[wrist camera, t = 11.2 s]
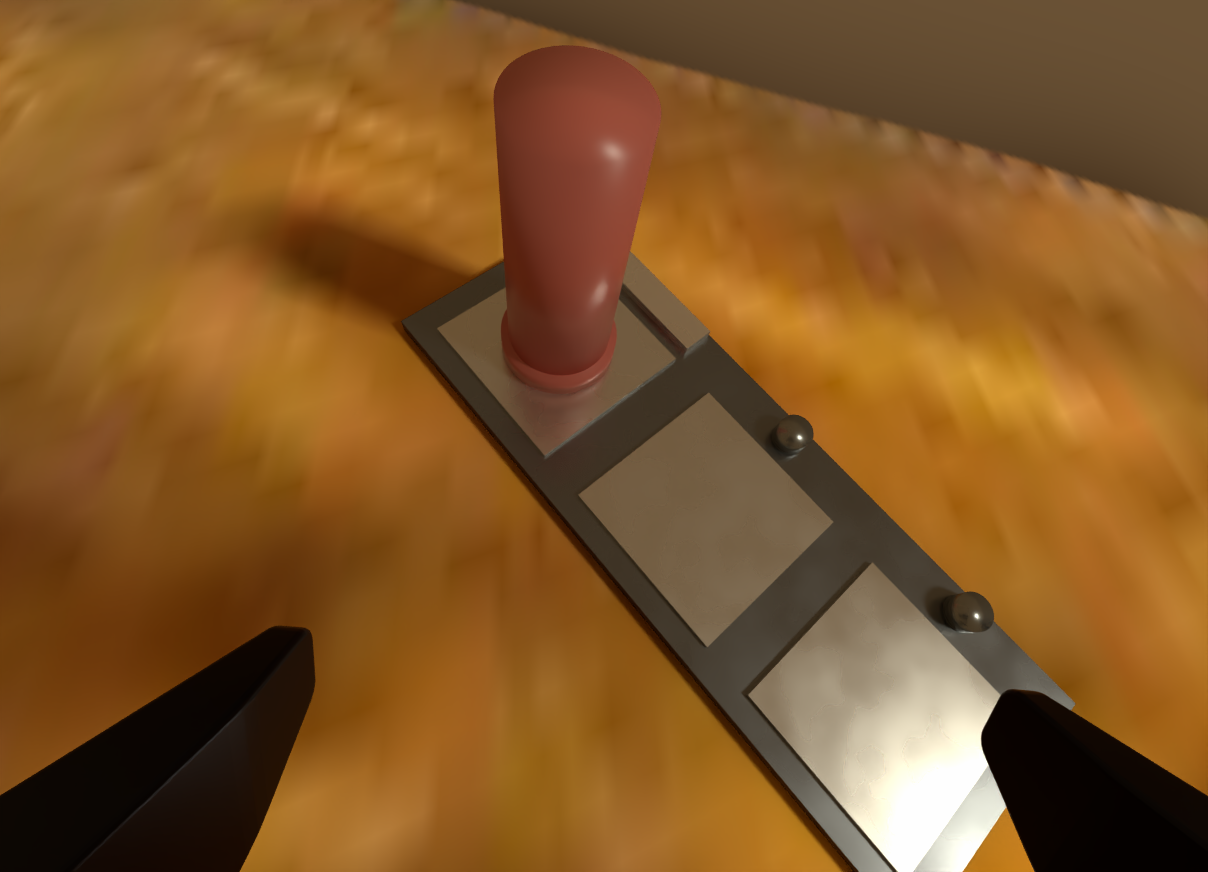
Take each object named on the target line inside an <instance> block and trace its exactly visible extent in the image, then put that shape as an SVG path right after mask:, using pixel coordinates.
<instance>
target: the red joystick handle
mask: <svg viewBox="0 0 1208 872" xmlns="http://www.w3.org/2000/svg"><path fill="white" fill-rule="evenodd" d="M494 112H495V128H496V144H497V159H498V175H499V191H500V206H501V222H502V238H503V254H504V269H505V285H506V301H507V309H506V311H505V313H504V316H503V318H502V323H501V341H502V351H503V355H504V358H505V361H506V363H507V365H508V367H509V368H510V370H511V371H512V372H513V374H514V375H515V376H516V377H517V378H518V379H519V380H521V381H522V382H523V383H525V384H526V385H528V386H530V387H532V388H534V389H536V390H539V391H542V392H546V393H552V394H568V393H573V392H577V391H580V390H583V389H585V388H587V387H589V386H591V385H593V384H594V383H596V382H597V381H598V380H599V379H600V378H601V377H602V376H603V375H604V374H605V372H606V371H607V369H608V368H609V365H610V363H611V360H612V357H613V353H614V349H615V345H616V340H617V329H616V324H615V321H614V317H615V313H616V308H617V304H618V300H619V296H620V291H621V287H622V283H623V279H624V274H625V270H626V266H627V262H628V257H629V253H630V249H631V245H632V240H633V236H634V232H635V228H636V223H637V219H638V215H639V211H640V206H641V202H642V198H643V194H644V189H645V185H646V181H647V177H648V172H649V168H650V164H651V160H652V155H653V151H654V147H655V143H656V138H657V134H658V130H659V126H660V121H661V106H660V102H659V98H658V96H657V94H656V91H655V90H654V88H653V86H652V85H651V83H650V82H649V81H648V80H647V78H646V77H645V76H644V75H643V74H642V73H641V72H640V71H638V70H637V69H636V68H635V67H633V66H632V65H631V64H629V63H627V62H626V61H624V60H622V59H620V58H618V57H616V56H614V55H612V54H609V53H606V52H604V51H600V50H597V49H593V48H587V47H581V46H552V47H546V48H541V49H538V50H534V51H532V52H529V53H527V54H524V55H523V56H521V57H519V58H517V59H516V60H514V61H513V62H512V63H510V64H509V65H508V66H507V67H506V68H505V69H504V71H503V72H502V73H501V75H500V76H499V78H498V81H497V83H496V86H495V90H494Z"/></svg>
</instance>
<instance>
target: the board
mask: <svg viewBox="0 0 1208 872" xmlns="http://www.w3.org/2000/svg"><path fill="white" fill-rule="evenodd" d="M506 309H507V301H506V285H505V269H504V262H502V263H501V264H499V265H497V266H495V267H494V268H492V269H490V270H489V271H487V272H485V273H483V274H482V275H480V276H478V277H477V278H475V279H473V280H471V281H470V282H468V283H466V284H464V285H463V286H461V287H459V288H458V289H456V290H454V291H452V292H451V293H449V294H447V295H446V296H444V297H442V298H440V299H439V300H437V301H435V302H433V303H432V304H430V305H428V306H427V307H425V308H423V309H421V310H420V311H418V312H416V313H415V314H413V315H411V316H409V317H408V318H406V319H404V320H402V321H401V322H402V325H403V327H404V330H405V331H406V332H407V333H408V334H409V336H410V337H411V338H412V339H413V341H414V342H415V343H416V344H417V345H418V347H419V348H420V349H421V350H422V351H423V353H424V354H425V355H426V356H427V357H428V359H429V360H430V361H431V362H432V363H433V365H434V366H435V367H436V368H437V369H438V371H439V372H440V373H441V374H442V375H443V377H444V378H445V379H446V380H447V381H448V383H449V384H450V385H451V386H452V388H453V389H454V390H455V391H456V392H457V394H458V395H459V396H460V397H461V398H462V400H463V401H464V402H465V403H466V404H467V406H468V407H469V408H470V409H471V410H472V412H473V413H474V414H475V415H476V416H477V418H478V419H479V420H480V421H481V422H482V424H483V425H484V426H485V427H486V429H487V430H488V431H489V432H490V433H491V435H492V436H493V437H494V438H495V439H496V441H497V442H498V443H499V444H500V445H501V447H502V448H503V449H504V450H505V451H506V453H507V454H508V455H509V456H510V457H511V459H512V460H513V461H514V462H515V463H516V465H517V466H518V467H519V468H520V469H521V471H522V472H523V473H524V474H525V476H526V477H527V478H528V479H529V480H530V482H531V483H532V484H533V485H534V486H535V488H536V489H537V490H538V491H539V492H540V494H541V495H542V496H543V497H544V498H545V500H546V501H547V502H548V503H549V504H550V506H551V507H552V508H553V509H554V510H555V512H556V513H557V514H558V515H559V516H560V518H561V519H562V520H563V521H564V523H565V524H566V525H567V526H568V527H569V529H570V530H571V531H572V532H573V533H574V535H575V536H576V537H577V538H578V539H579V541H580V542H581V543H582V544H583V545H584V547H585V548H586V549H587V550H588V551H589V553H590V554H591V555H592V556H593V557H594V559H595V560H596V561H597V562H598V563H599V565H600V566H601V567H602V568H603V570H604V571H605V572H606V573H607V574H608V576H609V577H610V578H611V579H612V580H613V582H614V583H615V584H616V585H617V586H618V588H619V589H620V590H621V591H622V592H623V594H624V595H625V596H626V597H627V598H628V600H629V601H630V602H631V603H632V604H633V606H634V607H635V608H636V609H637V610H638V612H639V613H640V614H641V615H642V617H643V618H644V619H645V620H646V621H647V623H648V624H649V625H650V626H651V627H652V629H653V630H654V631H655V632H656V633H657V635H658V636H659V637H660V638H661V639H662V641H663V642H664V643H665V644H666V645H667V647H668V648H669V649H670V650H671V651H672V653H673V654H674V655H675V656H676V657H677V659H678V660H679V661H680V662H681V664H682V665H683V666H684V667H685V668H686V670H687V671H688V672H689V673H690V674H691V676H692V677H693V678H694V679H695V680H696V682H697V683H698V684H699V685H700V686H701V688H702V689H703V690H704V691H705V692H706V694H707V695H708V696H709V697H710V698H711V700H712V701H713V702H714V703H715V704H716V706H717V707H718V708H719V709H720V711H721V712H722V713H723V714H724V715H725V717H726V718H727V719H728V720H729V721H730V723H731V724H732V725H733V726H734V727H735V729H736V730H737V731H738V732H739V733H740V735H741V736H742V737H743V738H744V739H745V741H746V742H747V743H748V744H749V745H750V747H751V748H752V749H753V750H754V751H755V753H756V754H757V755H758V756H759V758H760V759H761V760H762V761H763V762H764V764H765V765H766V766H767V767H768V768H769V770H770V771H771V772H772V773H773V774H774V776H775V777H776V778H777V779H778V780H779V782H780V783H781V784H782V785H783V786H784V788H785V789H786V790H787V791H788V792H789V794H790V795H791V796H792V797H793V798H794V800H795V801H796V802H797V803H798V805H799V806H800V807H801V808H802V809H803V811H804V812H805V813H806V814H807V815H808V817H809V818H810V819H811V820H812V821H813V823H814V824H815V825H816V826H817V827H818V829H819V830H820V831H821V832H822V833H823V835H824V836H825V837H826V838H827V839H828V841H829V842H830V843H831V844H832V845H833V847H834V848H835V849H836V850H837V852H838V853H839V854H840V855H841V856H842V858H843V859H844V860H845V861H846V862H847V864H848V865H849V866H850V867H851V868H852V870H853V871H854V872H962V871H963V870H964V868H965V867H966V865H967V864H968V862H969V861H970V860H971V858H972V857H973V855H974V854H975V852H976V851H977V849H978V848H979V846H980V845H981V843H982V842H983V840H984V839H985V837H986V836H987V834H988V833H989V831H990V830H991V828H992V827H993V825H994V824H995V822H996V821H997V819H998V818H999V816H1000V815H1001V813H1002V812H1003V810H1004V809H1005V808H1006V805H1005V803H1004V800H1003V798H1002V796H1001V793H1000V791H999V789H998V786H997V784H996V782H995V779H994V777H993V775H992V772H991V770H990V768H989V765H988V763H987V761H986V759H985V756H984V754H983V751H982V747H981V732H982V730H983V728H984V726H985V724H986V722H987V720H988V718H989V716H990V714H991V712H992V710H993V709H994V707H995V705H996V703H997V701H998V699H999V697H1000V696H1001V694H1002V693H1003V692H1005V691H1006V690H1009V689H1019V690H1031V691H1037V692H1040V693H1043V694H1045V695H1047V696H1048V697H1050V698H1052V699H1053V700H1055V701H1056V702H1058V703H1060V704H1061V705H1063V706H1064V707H1066V708H1068V709H1069V710H1071V709H1072V708H1073V707H1074V705H1075V703H1074V702H1073V701H1072V700H1071V699H1070V698H1069V697H1068V696H1067V695H1066V694H1065V693H1064V692H1063V691H1062V690H1061V689H1060V688H1059V687H1058V685H1057V684H1056V683H1055V682H1054V681H1053V680H1052V679H1051V678H1050V677H1049V676H1048V675H1047V674H1046V673H1045V672H1044V671H1043V670H1042V669H1041V668H1040V667H1039V666H1038V665H1037V664H1036V663H1035V662H1034V661H1033V660H1032V659H1031V658H1030V657H1029V656H1028V655H1027V654H1026V653H1025V652H1024V651H1023V650H1022V649H1021V648H1020V647H1019V646H1018V645H1017V644H1016V643H1015V642H1014V641H1013V640H1012V639H1011V638H1010V637H1009V636H1008V635H1007V634H1006V633H1005V632H1004V631H1003V630H1002V629H1001V628H1000V627H999V626H998V625H997V624H996V623H995V622H994V613H993V609H992V607H991V605H990V603H989V602H988V601H987V600H986V598H984V597H983V596H982V595H980V594H978V593H976V592H964V591H963V590H962V589H961V588H960V587H959V586H958V585H957V584H956V583H955V582H954V581H953V580H952V579H951V578H950V577H949V576H948V575H947V574H946V573H945V572H944V571H943V570H942V569H941V568H940V567H939V566H938V565H937V564H936V563H935V562H934V561H933V560H932V559H931V558H930V557H929V556H928V555H927V554H926V553H925V552H924V551H923V550H922V549H921V548H920V547H919V546H918V545H917V544H916V543H915V542H914V541H913V540H912V539H911V538H910V537H909V536H908V535H907V534H906V533H905V532H904V531H903V530H902V529H901V528H900V527H899V526H898V525H897V524H896V523H895V522H894V521H893V520H892V519H891V518H890V517H889V516H888V515H887V514H886V513H885V512H884V511H883V510H882V509H881V508H880V507H879V506H878V505H877V504H876V503H875V501H874V500H873V499H872V498H871V497H870V496H869V495H868V494H867V493H866V492H865V491H864V490H863V489H862V488H861V487H860V486H859V485H858V484H857V483H856V482H855V481H854V480H853V479H852V478H851V477H850V476H849V475H848V474H847V473H846V472H845V471H844V470H843V469H842V468H841V467H840V466H839V465H838V464H837V463H836V462H835V461H834V460H833V459H832V458H831V457H830V456H829V455H828V454H827V453H826V452H825V451H824V450H823V449H822V448H821V447H820V446H819V445H818V444H817V443H816V442H815V441H814V440H813V428H812V426H811V424H810V423H809V422H808V421H807V420H806V419H805V418H803V417H801V416H798V415H788V414H787V413H786V412H785V411H784V410H783V409H782V408H781V407H780V406H779V405H778V404H777V403H776V402H775V401H774V400H773V399H772V398H771V397H770V396H769V395H768V394H767V393H766V392H765V391H764V390H763V389H762V388H761V387H760V386H759V385H758V384H757V383H756V382H755V381H754V380H753V379H752V378H751V377H750V376H749V375H748V374H747V373H746V372H745V371H744V370H743V369H742V368H741V367H740V366H739V365H738V364H737V363H736V362H735V361H734V360H733V359H732V358H731V357H730V356H729V355H728V354H727V353H726V352H725V351H724V350H723V349H722V348H721V347H720V346H719V345H718V344H717V343H716V342H715V341H714V340H713V339H712V338H711V337H710V336H709V333H710V331H709V330H708V329H707V328H706V327H705V326H704V325H703V324H702V323H701V322H700V321H699V320H698V319H697V318H696V317H695V316H694V315H693V314H692V313H691V312H690V311H689V310H688V309H687V308H686V307H685V306H684V305H683V304H682V303H681V302H680V301H679V300H678V299H677V298H676V297H675V296H674V295H673V294H672V293H671V292H670V291H669V290H668V289H667V288H666V287H665V286H664V285H663V284H662V283H661V282H660V281H659V280H658V279H657V278H656V277H655V276H654V275H653V274H652V273H651V272H650V271H649V270H648V269H647V268H646V267H645V266H644V265H643V264H642V263H641V262H640V261H639V260H638V259H637V258H636V257H635V256H634V255H633V254H632V253H631V252H630V253H629V257H628V262H627V266H626V270H625V274H624V279H623V283H622V287H621V291H620V296H619V300H618V304H617V308H616V313H615V317H614V321H615V324H616V329H617V340H616V345H615V349H614V353H613V357H612V360H611V363H610V365H609V368H608V369H607V371H606V372H605V374H604V375H603V376H602V377H601V378H600V379H599V380H598V381H597V382H596V383H594V384H593V385H591V386H589V387H587V388H585V389H583V390H580V391H577V392H573V393H568V394H552V393H546V392H542V391H539V390H536V389H534V388H532V387H530V386H528V385H526V384H525V383H523V382H522V381H521V380H519V379H518V378H517V377H516V376H515V375H514V374H513V372H512V371H511V370H510V368H509V367H508V365H507V363H506V361H505V358H504V355H503V351H502V341H501V323H502V318H503V316H504V313H505V311H506Z"/></svg>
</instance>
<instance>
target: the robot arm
mask: <svg viewBox="0 0 1208 872" xmlns="http://www.w3.org/2000/svg"><path fill="white" fill-rule="evenodd" d="M314 687H315V668H314V653H313V639H312V634H311V632H310V631H309V630H308V629H306V628H302V627H290V626H274V627H271V628H269V629H267V630H265V631H264V632H262V633H261V634H259V635H257V636H256V637H254V638H253V639H251V640H249V641H248V642H246V643H245V644H243V645H241V646H240V647H238V648H237V649H235V650H233V651H232V652H230V653H229V654H227V655H225V656H224V657H222V658H220V659H219V660H217V661H216V662H214V663H212V664H211V665H209V666H208V667H206V668H204V669H203V670H201V671H200V672H198V673H196V674H195V675H193V676H192V677H190V678H188V679H187V680H185V681H183V682H182V683H180V684H179V685H177V686H175V687H174V688H172V689H171V690H169V691H167V692H166V693H164V694H163V695H161V696H159V697H158V698H156V699H155V700H153V701H151V702H150V703H148V704H146V705H145V706H143V707H142V708H140V709H138V710H137V711H135V712H134V713H132V714H130V715H129V716H127V717H126V718H124V719H122V720H121V721H119V722H118V723H116V724H114V725H113V726H111V727H109V728H108V729H106V730H105V731H103V732H101V733H100V734H98V735H97V736H95V737H93V738H92V739H90V740H89V741H87V742H85V743H84V744H82V745H81V746H79V747H77V748H76V749H74V750H73V751H71V752H69V753H68V754H66V755H64V756H63V757H61V758H60V759H58V760H56V761H55V762H53V763H52V764H50V765H48V766H47V767H45V768H44V769H42V770H40V771H39V772H37V773H36V774H34V775H32V776H31V777H29V778H27V779H26V780H24V781H23V782H21V783H19V784H18V785H16V786H15V787H13V788H11V789H10V790H8V791H7V792H5V793H3V794H2V795H0V872H240V870H241V868H242V866H243V864H244V862H245V860H246V858H247V856H248V854H249V852H250V850H251V847H252V845H253V843H254V841H255V839H256V837H257V835H258V833H259V831H260V828H261V826H262V823H263V821H264V818H265V816H266V814H267V811H268V809H269V806H270V804H271V801H272V799H273V796H274V794H275V791H276V788H277V786H278V783H279V781H280V778H281V776H282V773H283V771H284V768H285V765H286V763H287V760H288V758H289V755H290V753H291V750H292V748H293V745H294V743H295V740H296V737H297V735H298V732H299V730H300V727H301V725H302V722H303V720H304V717H305V714H306V712H307V709H308V707H309V704H310V702H311V699H312V696H313V692H314ZM981 747H982V751H983V754H984V756H985V759H986V761H987V763H988V765H989V768H990V770H991V772H992V775H993V777H994V779H995V782H996V784H997V786H998V789H999V791H1000V793H1001V796H1002V798H1003V800H1004V803H1005V805H1006V807H1007V810H1008V812H1009V814H1010V817H1011V819H1012V821H1013V823H1014V826H1015V828H1016V830H1017V833H1018V835H1019V837H1020V840H1021V842H1022V844H1023V847H1024V849H1025V851H1026V854H1027V856H1028V858H1029V860H1030V863H1031V865H1032V867H1033V869H1034V871H1035V872H1208V796H1207V795H1205V794H1204V793H1202V792H1200V791H1199V790H1197V789H1196V788H1194V787H1192V786H1191V785H1189V784H1188V783H1186V782H1184V781H1183V780H1181V779H1180V778H1178V777H1176V776H1175V775H1173V774H1172V773H1170V772H1168V771H1167V770H1165V769H1164V768H1162V767H1160V766H1159V765H1157V764H1156V763H1154V762H1152V761H1151V760H1149V759H1148V758H1146V757H1144V756H1143V755H1141V754H1140V753H1138V752H1136V751H1135V750H1133V749H1132V748H1130V747H1128V746H1127V745H1125V744H1124V743H1122V742H1120V741H1119V740H1117V739H1116V738H1114V737H1112V736H1111V735H1109V734H1108V733H1106V732H1104V731H1103V730H1101V729H1100V728H1098V727H1096V726H1095V725H1093V724H1092V723H1090V722H1088V721H1087V720H1085V719H1084V718H1082V717H1080V716H1079V715H1077V714H1076V713H1074V712H1072V711H1071V710H1069V709H1068V708H1066V707H1064V706H1063V705H1061V704H1060V703H1058V702H1056V701H1055V700H1053V699H1052V698H1050V697H1048V696H1047V695H1045V694H1043V693H1040V692H1037V691H1031V690H1019V689H1009V690H1006V691H1005V692H1003V693H1002V694H1001V696H1000V697H999V699H998V701H997V703H996V705H995V707H994V709H993V710H992V712H991V714H990V716H989V718H988V720H987V722H986V724H985V726H984V728H983V730H982V732H981Z"/></svg>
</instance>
